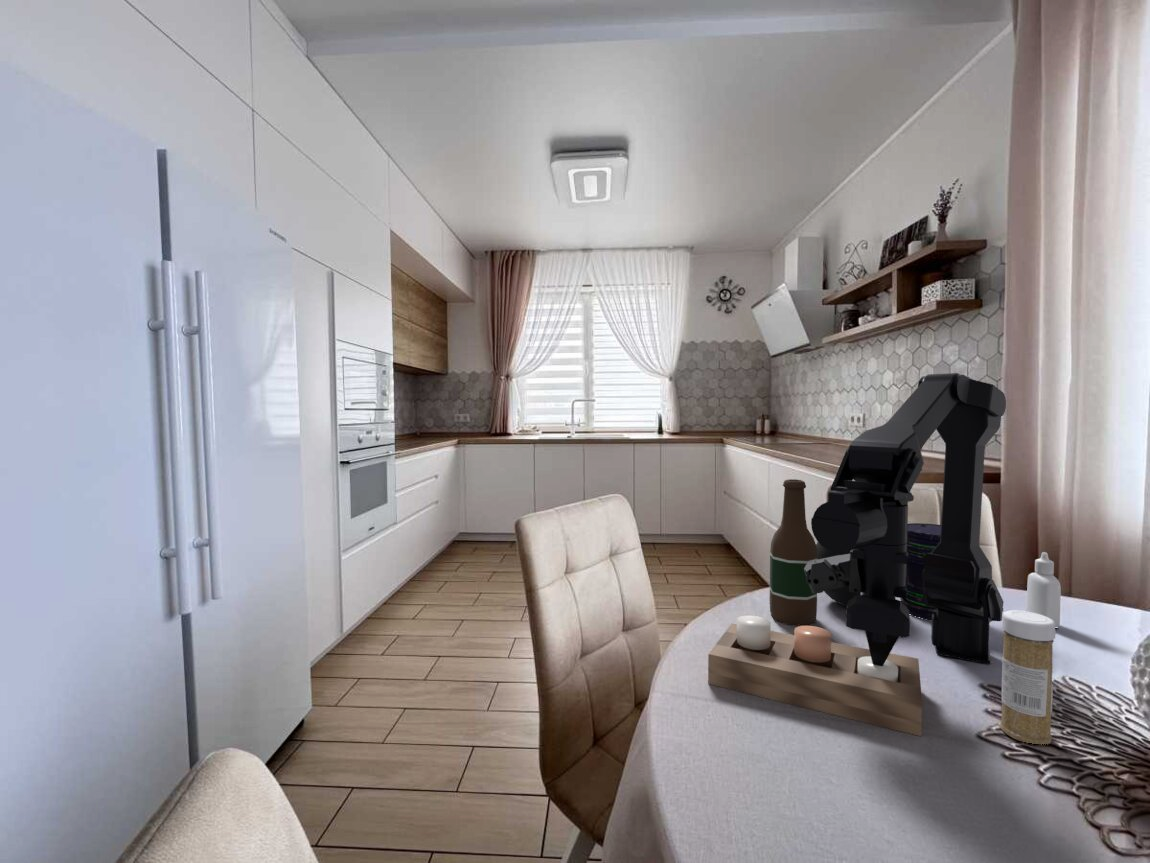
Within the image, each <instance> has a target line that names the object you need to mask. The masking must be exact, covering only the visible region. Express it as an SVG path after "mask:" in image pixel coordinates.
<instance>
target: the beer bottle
mask: <svg viewBox="0 0 1150 863" xmlns="http://www.w3.org/2000/svg"><path fill="white" fill-rule="evenodd" d="M782 483H783V484H782V486H783V488H784V489H783V490H784V491H783V492H784V493H783V502H782V503H783V505H782V507H783V508H782V517H781V522H780V525H779V527H778V528H777V530H776V531H775V532H774V534H773V537H772V538H771V541H770V550H769V612H770V614H771V616H772V618H773V620H774V621H777V622H780V623H783V624H785V625H789V626H809V625H810V624H813V623H815V622H816V621H817V612H818V593H816V594H814V593H812V591H811V588H810V585H809V584H807V583H806V574H805V572H804V568H805V566H806V564H807V563H808V562H810V561H814V560H818V556H817V546H816V544H817V543H816V540H815V537H813V536H814V535H812V534H811V532H810V530H809V529H808V526H807V519H806V501H805V498H806V497H805V489H806V488H807V485H806V482H805V481H804V480H802V479H796V478H795V479H792V478H791V479H785V480H784V481H783V482H782Z"/></svg>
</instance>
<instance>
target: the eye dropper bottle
mask: <svg viewBox="0 0 1150 863" xmlns="http://www.w3.org/2000/svg"><path fill="white" fill-rule="evenodd" d="M1040 555H1041V556H1040V558H1037V559H1035V560H1034V572H1030V573H1029V574H1028V575H1027V585H1026V588H1027V590H1026V611H1027V612H1032V613H1037V614H1040V615H1043V616H1046V617H1048V618H1050V619H1052V620H1053V621H1054V622H1055V627H1059V628H1060V626H1061V625H1060V624H1061V599H1062V598H1061V596H1062V595H1061V593H1062V592H1061V591H1062V590H1061V589H1062V588H1061V582H1060V581H1059V579H1058V578H1057V577H1055V576H1054V573H1055V562H1054V561H1053V560H1051V559H1050V558H1049V555H1048V553H1047V552H1046V551H1043V552H1041V554H1040Z"/></svg>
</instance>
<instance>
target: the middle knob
mask: <svg viewBox="0 0 1150 863" xmlns="http://www.w3.org/2000/svg"><path fill="white" fill-rule="evenodd" d="M793 635H794V653H795V655H796V656H797V657H799V658H801V659H803V660H806V661H810V662H827V661H829V660H830V659H831V642H832V634H831V632H830V631H829V630H827V629H825V628H822V627H819V626H816V625H815V626H813V625H806V626H803V625H797V627H795V628H794V634H793Z"/></svg>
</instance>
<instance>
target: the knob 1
mask: <svg viewBox="0 0 1150 863" xmlns="http://www.w3.org/2000/svg"><path fill="white" fill-rule="evenodd" d="M736 624H737V643H738V644H739V645H740V646H742V647H745V648H748V649H753V650H763V649H767V648H769V647H770V633H771V631H772V630H771V629H772V628H771V626H772V625H771V624H772V622H771V621H770V620H768V619H767V618H765V617H762V616H757V615H740V616H739V617H737V619H736Z"/></svg>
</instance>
